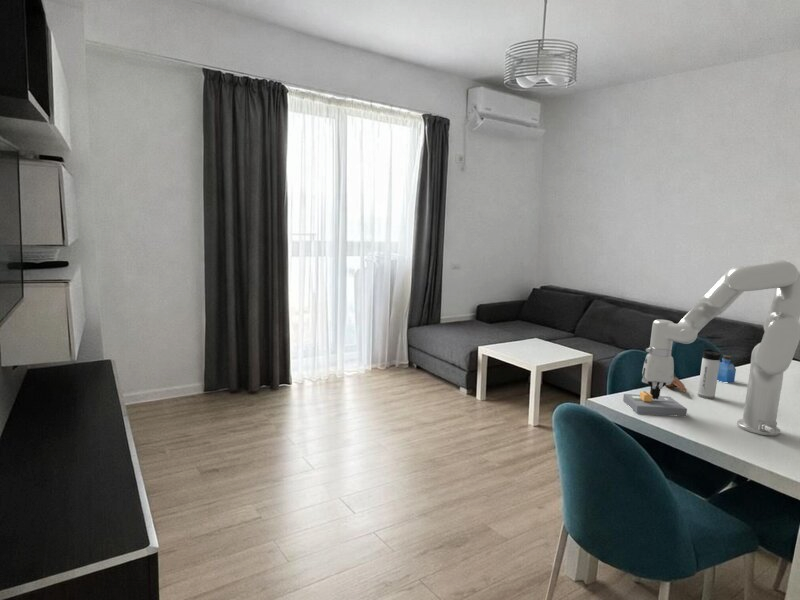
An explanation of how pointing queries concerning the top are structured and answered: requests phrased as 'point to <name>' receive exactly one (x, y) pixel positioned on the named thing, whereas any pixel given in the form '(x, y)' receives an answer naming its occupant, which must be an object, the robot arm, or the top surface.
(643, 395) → the fader knob
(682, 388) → the bird sculpture
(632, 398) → the console
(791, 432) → the top surface
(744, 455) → the top surface
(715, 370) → the travel mug
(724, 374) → the perfume bottle
